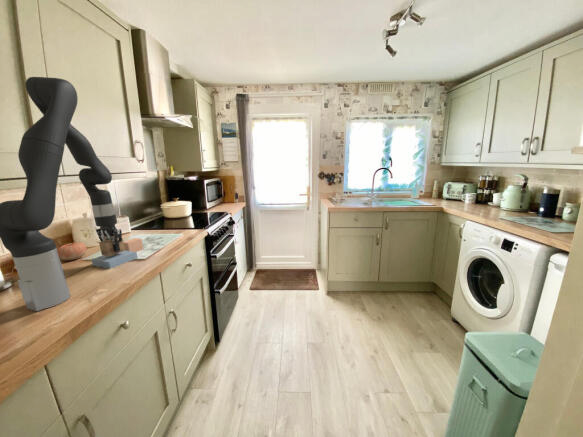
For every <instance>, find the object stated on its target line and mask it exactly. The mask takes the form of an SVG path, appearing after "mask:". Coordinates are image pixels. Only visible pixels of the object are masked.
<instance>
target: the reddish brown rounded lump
mask: <svg viewBox="0 0 583 437" xmlns="http://www.w3.org/2000/svg"><path fill="white" fill-rule="evenodd" d="M57 251H58V255H59V258H60V260H63V261H74V260H77V259H80V258H82V257H83V256H84V255H85V254H86V253H87V246H86V245H85V244H84V243H81V242H71V243H70V242H69V243H66V244H63V245H60V246H59V247H58V248H57Z"/></svg>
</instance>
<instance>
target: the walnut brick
mask: <svg viewBox="0 0 583 437" xmlns="http://www.w3.org/2000/svg"><path fill="white" fill-rule="evenodd" d="M118 239H119V238H118ZM98 244H99V248H100V253H101V256H103V255H105V256H111V255H114V254H117V253H120V252H123V251H125V247H124V239H123V237H122V242H119V247H120V251H118V252H114V248H113V244H112V242H111V240H106V241H102V242H101V241H99V242H98Z"/></svg>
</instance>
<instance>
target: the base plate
mask: <svg viewBox="0 0 583 437" xmlns="http://www.w3.org/2000/svg"><path fill="white" fill-rule="evenodd" d="M137 253H138V252H133V251H123V252H120V253H117V254H114V255H111V256H105V255H100V256H97V257H94V258H91V263H92V266H94V267H97V268H98V267H99V268H105V269H109V270H110V269H113V268H115V267H118V266H121V265H124V264H126V263H129V262H130V261H134V260H135V259H138V254H137Z"/></svg>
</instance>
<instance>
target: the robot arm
mask: <svg viewBox="0 0 583 437" xmlns="http://www.w3.org/2000/svg"><path fill="white" fill-rule="evenodd" d="M25 90H26V92H27V94H28V97H29V98H30V100H31V101H32V102H33V104H34V105H35V106H36V108H38V110H39V112H41V114H42V117H41V118H39V119H38V120H37V121H36V122H35V123H33V124H32V125H31V126H30V127H29V128H28V129H27V130H26V131H25V132H24V133H23V135H22V137H21V141H20V144H19V149H18V152H17V154H18V156H17V157H18V160H19V164H20V165H21V168H22V170H23V172H24V174H25V178H26V187H25V192H24V196H23V198H22V199H17V200H13V199H12V200H6V201H3V202H0V240H1V243H2V245H3V246H4V248H5V249H6V250H7V251H9V252H10V254H11V256H12V260H13V262H14V266H15V268H16V271H17V275H18V276H19V278H18V279H17V285H18V287H19V290H20V293H21V296H22V298H23V301H24V305H25V307H26V309H29V310H31V311H33V312H34V311H35V312H39V311H42V310H45V309H48V308H51V307H54V306H55V307H56V306H57V305H60V304H62V303H63V302H65V301H67V300H69V298H70V297H71V293H70V289H69V286H68V282H67V279H66V275H65V272H64V269H63V265H62V263H61V259H60V258H59V255H58V251H57V249H58V248H57V245H56V242H55V240H54V239H52V238H50V237H47V236H46V235H44V234H42V233H41V231H42V230H45V229H47V228H49V227H50V225H52V222H53V221H54V219H55V214H56V200H57V199H56V198H57V197H56V196H57V187H58V181H59V174H60V169H61V165H62V160H63V156H64V151H65V146H66V147H67V148H68V150H69V152H70V154H71V156H72V158H73V159H74V161H75V162H76V164H77V165H79V166H84V167H85V168H82V169H80V170H79V172H78V178H79V181H80V183H81V184H82V185H83V187H84V189H85V190H86V192H87V194H88V196H89V199H90V204H91V210H92V216H93V219H94V222H95V226H96V227H98V228H96V229H95V232H96V234H97V236H98V239H99V242H102V241H106V240H111V242H112V244H113V248H114V252H118V251H120V247H119V242H122V238H123V234H122V233H123V232H122V229H121V228H120V229H117V227H116V224H118V219H117V215H116V209H115V206H114V204H113V200H112V196H111V193H110V191H109V190H106V189H100V188H99V187H98V186H99V185H100V186H101V185H108V184H110V183H111V182H112V179H113V175H112V172H111V171H110V169H108V167H107V166H106V165H105V164H104V163H103V162H102V160H100V158H99V157H98V156H97V154H96V152H95V150H94V148H93V146H92V144H91V143H90V141H89V139H88V138H86V136H85V135H84V134H83V133H81V132H80V131H79V130H78V129H77V128H76V127H74V126H73V125H72V124H71V122H72V119H73V116H74V114H75V112H76V110H77V107H78V106H77V105H78V101H79V100H78V93H77V90H76V88H75V86H74V85H73V84H72V82H70V81H68V80H66V79H63V78H60V77H58V78H57V77H48V76H30V77H28V78H27V79H26V80H25ZM97 185H98V186H97ZM118 238H119V239H118Z"/></svg>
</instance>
